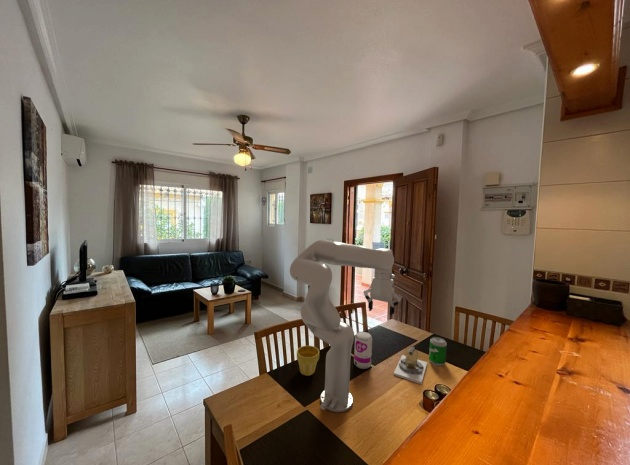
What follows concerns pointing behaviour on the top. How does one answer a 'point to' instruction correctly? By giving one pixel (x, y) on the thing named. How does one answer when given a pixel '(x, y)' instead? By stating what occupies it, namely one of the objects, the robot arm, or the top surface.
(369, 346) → the supplement can
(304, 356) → the plant pot
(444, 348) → the soda can
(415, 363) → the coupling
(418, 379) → the socket board
